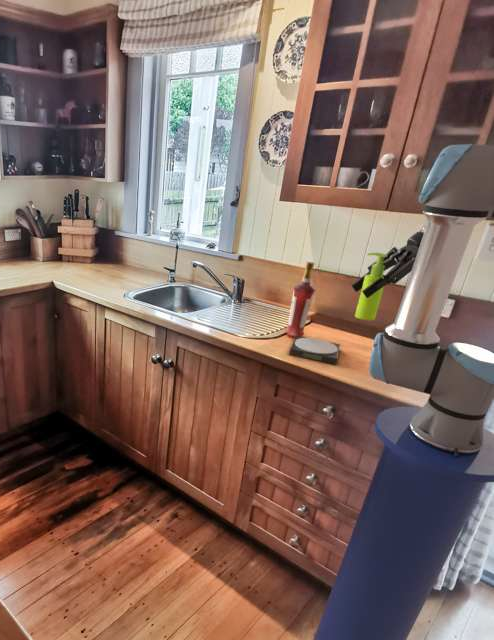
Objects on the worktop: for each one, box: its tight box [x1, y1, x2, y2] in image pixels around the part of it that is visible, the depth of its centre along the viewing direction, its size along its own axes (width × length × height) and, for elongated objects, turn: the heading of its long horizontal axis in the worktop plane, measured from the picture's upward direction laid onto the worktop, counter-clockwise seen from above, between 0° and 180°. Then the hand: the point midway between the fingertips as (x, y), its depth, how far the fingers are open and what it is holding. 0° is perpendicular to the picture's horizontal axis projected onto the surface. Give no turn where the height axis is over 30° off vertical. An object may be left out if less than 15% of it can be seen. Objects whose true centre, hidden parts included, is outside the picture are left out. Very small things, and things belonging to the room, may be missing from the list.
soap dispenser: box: [354, 252, 388, 321], centre depth 144 cm, size 6×7×20 cm
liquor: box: [284, 261, 316, 339], centre depth 172 cm, size 7×7×28 cm
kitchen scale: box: [288, 335, 341, 365], centre depth 163 cm, size 15×15×3 cm
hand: (359, 291), depth 145 cm, fingers closed on soap dispenser, 6 cm apart
